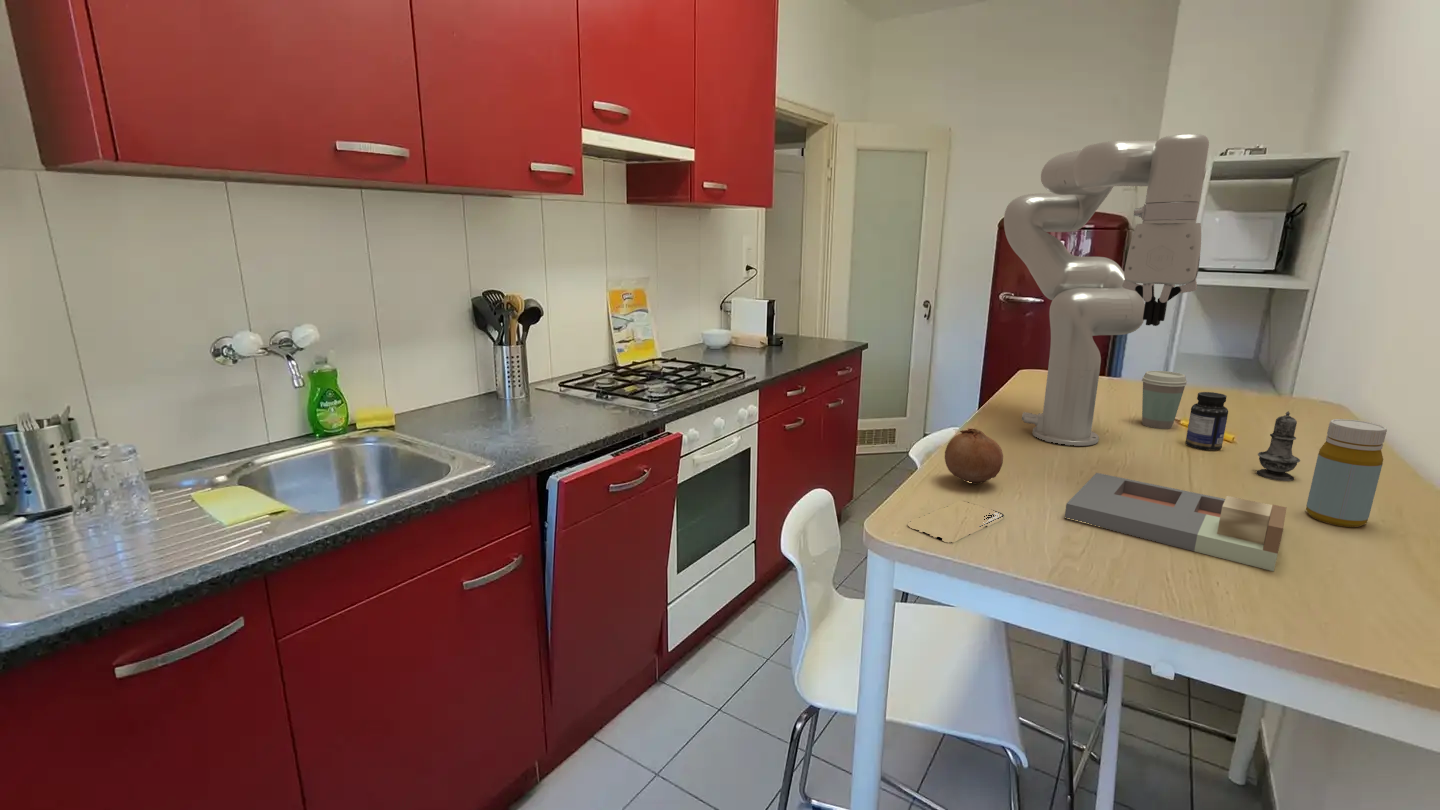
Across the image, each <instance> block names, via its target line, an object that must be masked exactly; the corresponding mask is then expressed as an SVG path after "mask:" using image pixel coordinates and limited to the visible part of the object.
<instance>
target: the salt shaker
mask: <svg viewBox="0 0 1440 810" xmlns="http://www.w3.org/2000/svg"><path fill="white" fill-rule="evenodd" d="M1290 415H1291V413H1290V410H1288V411H1286V413H1285V415H1282V416H1278V417H1276V419H1275V422H1274V427H1273V431H1272V433H1270V434H1269V436H1270V437H1271V438H1270V444H1269V447H1268V448H1267V450H1266V451H1259V452H1257V456H1258V460H1259V464H1260V466H1262V467H1263V468H1261V469H1259V470H1256V472H1255V473H1256V475H1258V476H1260V477H1262V478H1266V479H1269V480H1274V481H1279V482H1281V481H1283V482H1291V481H1294V480H1295V477H1294V476H1293V475H1291V474H1290V473H1289V472H1291V471H1293V470H1295V468H1296V467H1297V465H1298V463H1300V462H1301V458H1299V457H1297V456H1295V455H1294V454H1293V445H1294V441H1295V440H1297V437H1296V436H1295V432H1296V428H1297V422H1298V421H1297V420H1296V418H1294V417H1292V416H1290Z"/></svg>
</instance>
